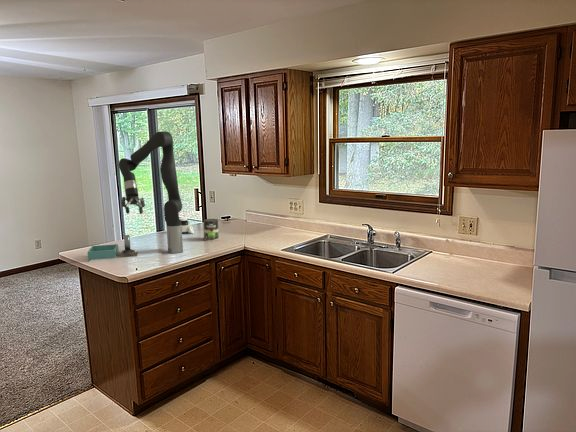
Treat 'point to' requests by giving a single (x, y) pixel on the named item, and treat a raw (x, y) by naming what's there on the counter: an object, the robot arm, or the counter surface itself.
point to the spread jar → (186, 226)
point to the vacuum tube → (127, 244)
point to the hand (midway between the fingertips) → (134, 213)
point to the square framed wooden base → (127, 254)
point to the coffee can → (211, 229)
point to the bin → (103, 252)
